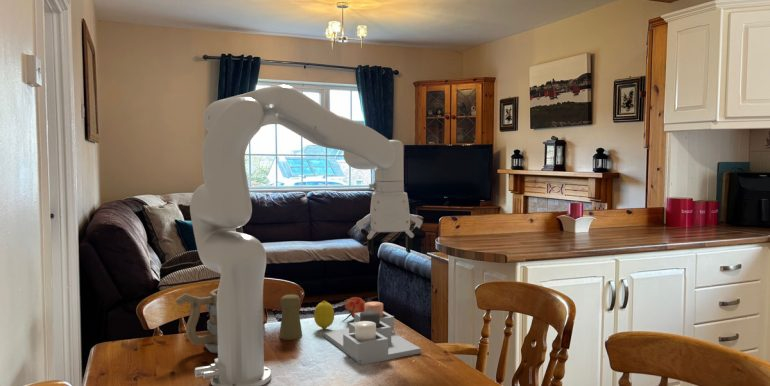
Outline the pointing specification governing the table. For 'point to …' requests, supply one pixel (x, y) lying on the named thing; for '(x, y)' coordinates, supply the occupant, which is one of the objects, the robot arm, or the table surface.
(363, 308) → the red flower
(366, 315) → the black button
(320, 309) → the lemon
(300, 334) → the olive green shaker
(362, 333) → the cream button
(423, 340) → the table surface
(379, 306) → the terracotta button
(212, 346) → the tankard
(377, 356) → the grey stepped holder base
